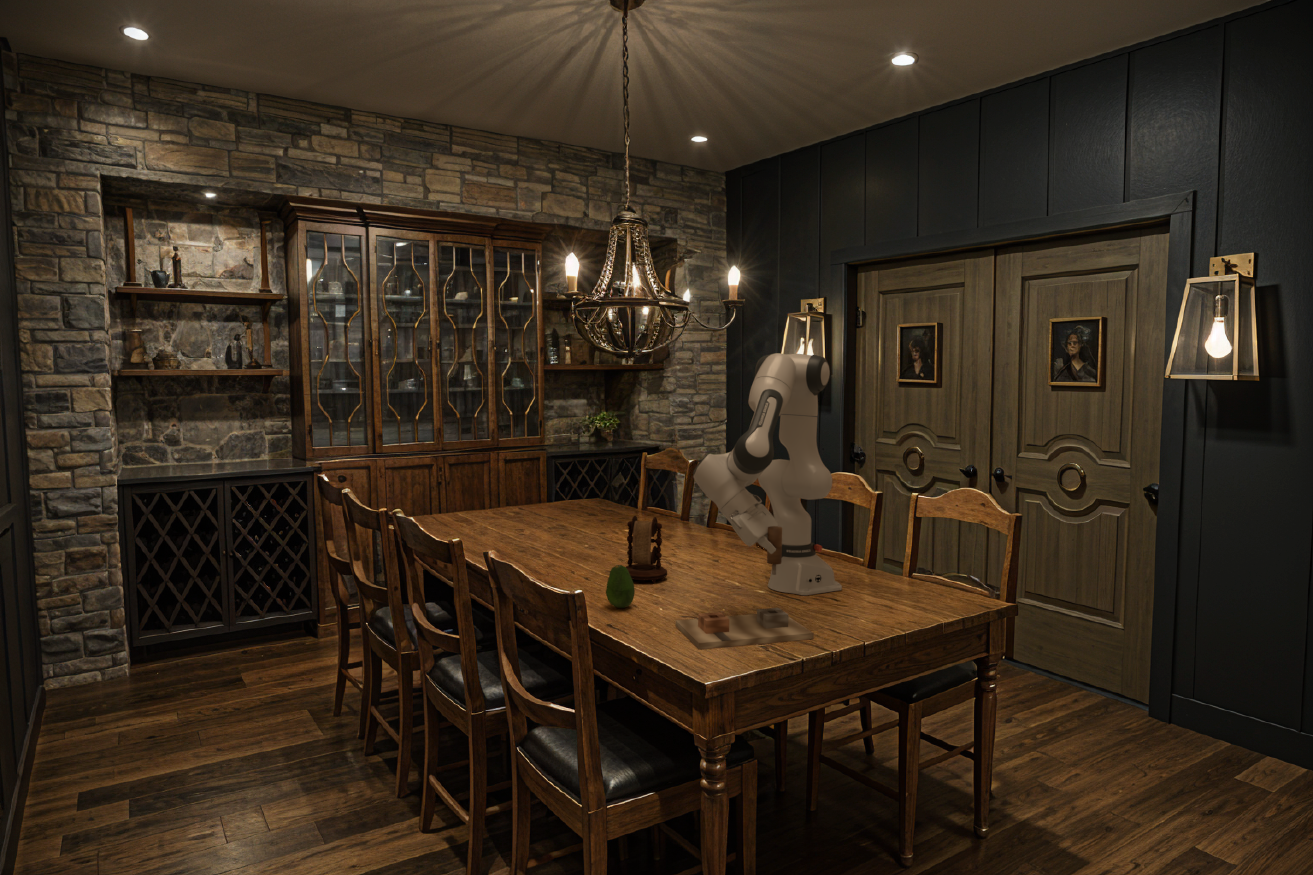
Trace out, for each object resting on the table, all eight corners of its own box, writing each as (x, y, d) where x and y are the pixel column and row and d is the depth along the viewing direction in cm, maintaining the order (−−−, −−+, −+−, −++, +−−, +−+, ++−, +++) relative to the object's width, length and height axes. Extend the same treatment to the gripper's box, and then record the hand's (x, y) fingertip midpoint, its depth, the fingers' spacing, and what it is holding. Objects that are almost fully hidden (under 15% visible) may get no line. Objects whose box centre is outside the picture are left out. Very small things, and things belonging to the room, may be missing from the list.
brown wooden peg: (777, 572, 204) (778, 525, 203) (783, 575, 201) (784, 528, 200) (764, 572, 203) (765, 526, 202) (770, 576, 200) (771, 529, 199)
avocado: (609, 602, 225) (609, 561, 224) (636, 604, 224) (637, 562, 223) (602, 611, 217) (603, 567, 216) (631, 612, 216) (631, 569, 215)
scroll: (614, 582, 248) (614, 518, 246) (629, 571, 262) (630, 511, 260) (659, 586, 243) (660, 521, 242) (672, 575, 258) (673, 514, 256)
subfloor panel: (781, 617, 214) (782, 600, 214) (813, 638, 197) (814, 620, 196) (675, 625, 205) (675, 608, 205) (698, 649, 188) (699, 629, 188)
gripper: (736, 506, 194) (775, 550, 191) (760, 495, 213) (795, 534, 210) (718, 523, 196) (756, 566, 193) (743, 510, 215) (778, 549, 212)
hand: (777, 549), depth 201 cm, fingers closed on brown wooden peg, 4 cm apart
